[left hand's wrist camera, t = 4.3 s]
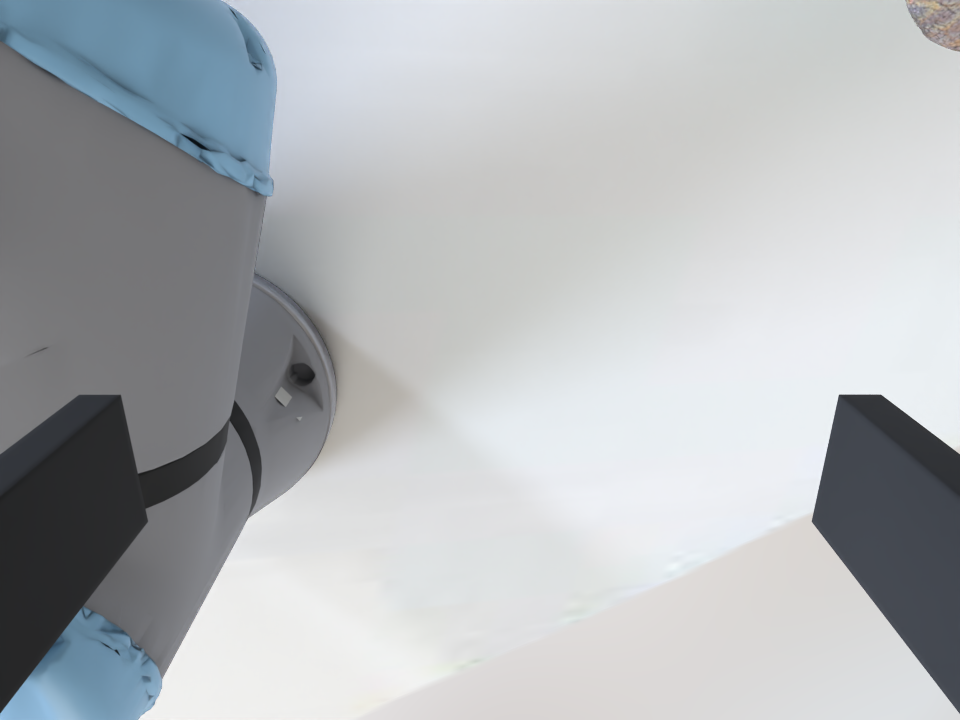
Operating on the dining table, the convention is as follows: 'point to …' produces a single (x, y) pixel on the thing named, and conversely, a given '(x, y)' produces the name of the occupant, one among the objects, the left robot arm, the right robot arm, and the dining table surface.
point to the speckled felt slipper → (938, 20)
